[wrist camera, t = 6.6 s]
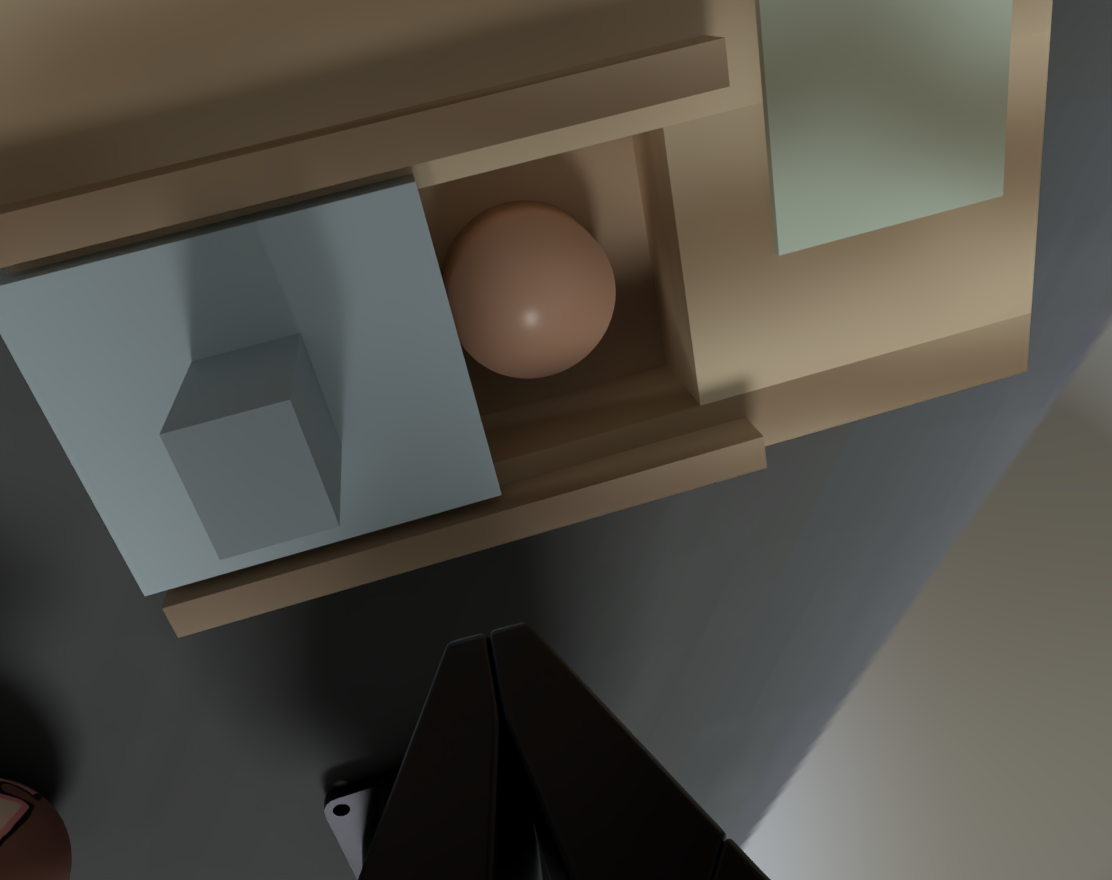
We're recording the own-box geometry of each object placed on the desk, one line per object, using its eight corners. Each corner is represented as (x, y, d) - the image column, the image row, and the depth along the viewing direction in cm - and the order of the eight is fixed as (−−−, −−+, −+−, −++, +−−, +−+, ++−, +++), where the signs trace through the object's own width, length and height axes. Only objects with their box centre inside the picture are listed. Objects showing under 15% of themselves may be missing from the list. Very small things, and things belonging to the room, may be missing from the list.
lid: (496, 476, 19) (526, 578, 16) (152, 573, 18) (108, 701, 15) (412, 173, 16) (427, 220, 13) (-6, 278, 15) (-106, 356, 12)
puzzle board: (951, 329, 23) (1056, 388, 20) (207, 537, 22) (180, 641, 18) (975, -741, 14) (1176, -979, 11) (-307, -524, 13) (-561, -723, 9)
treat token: (612, 332, 21) (628, 353, 20) (465, 373, 21) (472, 397, 19) (583, 181, 19) (599, 194, 18) (422, 224, 19) (427, 240, 18)
